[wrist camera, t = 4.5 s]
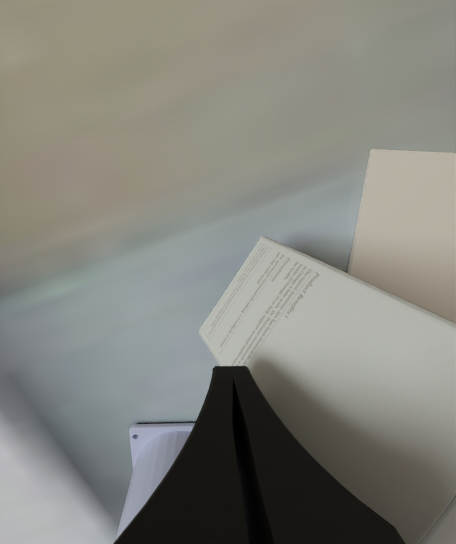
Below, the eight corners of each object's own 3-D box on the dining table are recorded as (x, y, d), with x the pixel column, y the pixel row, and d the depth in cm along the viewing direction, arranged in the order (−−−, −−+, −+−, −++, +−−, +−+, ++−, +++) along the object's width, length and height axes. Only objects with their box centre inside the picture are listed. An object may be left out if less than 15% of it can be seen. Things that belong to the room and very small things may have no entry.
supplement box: (269, 361, 21) (451, 568, 11) (193, 330, 17) (372, 619, 7) (326, 281, 21) (575, 417, 10) (263, 229, 16) (575, 369, 6)
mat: (473, 397, 25) (477, 401, 25) (322, 400, 24) (324, 403, 24) (572, 159, 19) (579, 159, 18) (370, 149, 18) (374, 149, 17)
